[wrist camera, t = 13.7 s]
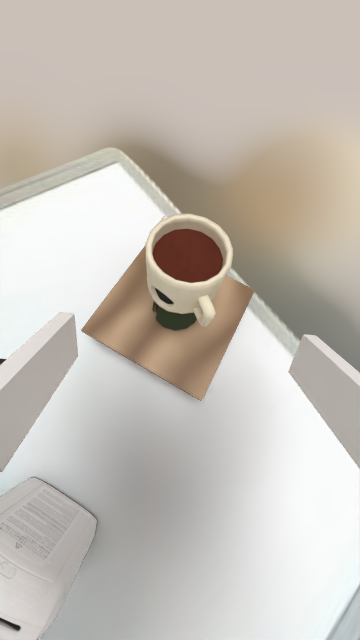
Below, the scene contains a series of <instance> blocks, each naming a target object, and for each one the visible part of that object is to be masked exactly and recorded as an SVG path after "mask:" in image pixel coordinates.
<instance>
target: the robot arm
mask: <svg viewBox="0 0 360 640" xmlns="http://www.w3.org/2000/svg"><path fill="white" fill-rule="evenodd" d="M77 357H78V349H77V338H76V327H75V316H74V314H73V313H62V312H59V313H58V314H57V315H56V316H55V317H54V318H53V319H52V320H50V321H49V322H48V323H47V324H46V325H45V326H44V327H43V328H41V329H40V330H39V331H38V332H37V333H36V334H35V335H34V336H32V337H31V338H30V339H29V340H28V341H27V342H26V343H25V344H23V345H22V346H21V347H20V348H19V349H18V350H17V351H16V352H14V353H13V354H12V355H11V356H10V357H9V358H8V359H0V472H2V471H3V470H4V468H5V467H6V465H7V464H8V462H9V461H10V459H11V458H12V456H13V455H14V453H15V451H16V450H17V448H18V447H19V445H20V444H21V442H22V441H23V439H24V438H25V436H26V435H27V433H28V432H29V430H30V429H31V427H32V425H33V424H34V422H35V421H36V419H37V418H38V416H39V415H40V413H41V412H42V410H43V409H44V407H45V406H46V404H47V403H48V401H49V400H50V398H51V396H52V395H53V393H54V392H55V390H56V389H57V387H58V386H59V384H60V383H61V381H62V380H63V378H64V377H65V375H66V374H67V372H68V371H69V369H70V367H71V366H72V364H73V363H74V361H75V360H76V358H77ZM288 372H289V373H290V375H291V376H292V377H293V379H294V380H295V382H296V383H297V384H298V386H299V387H300V388H301V390H302V391H303V392H304V394H305V395H306V396H307V398H308V399H309V401H310V402H311V403H312V405H313V406H314V407H315V409H316V410H317V411H318V413H319V414H320V415H321V417H322V418H323V420H324V421H325V422H326V424H327V425H328V426H329V428H330V429H331V430H332V432H333V433H334V435H335V436H336V437H337V439H338V440H339V441H340V443H341V444H342V445H343V447H344V448H345V449H346V451H347V452H348V454H349V455H350V456H351V458H352V459H353V460H354V462H355V463H356V464H357V466H358V467H359V468H360V373H359V372H358V371H357V370H356V369H354V368H353V367H352V366H351V365H350V364H348V363H347V362H346V361H345V360H344V359H343V358H341V357H340V356H339V355H338V354H337V353H335V352H334V351H333V350H332V349H331V348H330V347H328V346H327V345H326V344H325V343H324V342H323V341H321V340H320V339H319V338H318V337H317V336H315V335H303V337H302V339H301V342H300V344H299V347H298V349H297V352H296V354H295V357H294V359H293V362H292V364H291V366H290V369H289V371H288Z"/></svg>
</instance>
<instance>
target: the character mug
mask: <svg viewBox="0 0 360 640" xmlns="http://www.w3.org/2000/svg"><path fill="white" fill-rule="evenodd" d="M232 256H233V249H232V246H231V242H230V239H229V237H228V236H227V234H226V233H225V232H224V231H223V230H222V228H221V227H220V226H219V225H217V224H216V223H214V222H212V221H210V220H209V219H207V218H205V217H201V216H197V215H193V214H179V215H173V216H170V217H168V216H164V217H163V218H162V220H161V221H160V222H159V223H158V224H157V225H156V226H155V227H154V228H153V229H152V230H151V231H150V234H149V236H148V239H147V242H146V267H147V283H148V289H149V293H150V295H151V297H152V298H153V300H154V301H153V309H152V310H153V311H154V307H155V304H156V309H157V314H156V320H157V321H158V322H159V323H160V324H161V325H162V326H163V327H165V328H168V329H172V330H175V331H176V330H181V329H186V328H188V327H189V326H191V325H192V324H194V323H195V322H196V320H198V322H199V323H200V325H201V326H208V325H209V324H210V323H211V321H212V320H213V318H214V317H215V314H216V312H215V309H214V306H213V304H212V302H211V300H212V299H213V297H214V296H215V294H216V292H217V290H218V289H219V287H220V285H221V283H222V282H223V280H224V278H225V276H226V275H227V273H228V271H229V269H230V267H231V263H232Z"/></svg>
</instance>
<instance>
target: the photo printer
mask: <svg viewBox="0 0 360 640" xmlns="http://www.w3.org/2000/svg"><path fill="white" fill-rule="evenodd" d="M96 524H97V520H96V519H95V518H94V517H93V516H92V515H91V514H90V513H89V512H88V511H87V510H85V509H84V508H83V507H81V506H80V505H78V504H77V503H75V502H74V501H73V500H71V499H70V498H68V497H67V496H65V495H64V494H62V493H61V492H59V491H58V490H56V489H55V488H53V487H52V486H50V485H48V484H47V483H45V482H43V481H41V480H39V479H37V478H29V479H28V480H26V481H24V482H23V483H21V484H20V485H18V486H16V487H15V488H13V489H11V490H10V491H8V492H7V493H5V494H3V495H2V496H0V640H37V639H38V638H39V637H40V636H41V635H42V634H43V633H44V632H45V631H46V630H47V629H48V628H49V627H50V625H51V624H52V623H53V621H54V620H55V618H56V616H57V614H58V612H59V611H60V608H61V606H62V604H63V602H64V600H65V598H66V596H67V594H68V591H69V589H70V587H71V585H72V583H73V581H74V579H75V577H76V575H77V572H78V570H79V568H80V566H81V564H82V562H83V560H84V558H85V556H86V553H87V551H88V549H89V547H90V545H91V543H92V541H93V538H94V536H95V532H96Z"/></svg>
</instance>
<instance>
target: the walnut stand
mask: <svg viewBox="0 0 360 640" xmlns="http://www.w3.org/2000/svg"><path fill="white" fill-rule="evenodd" d="M254 291H255V290H253V289H251V288H250V287H248V286H246V285H244V284H242V283H240V282H238V281H236V280H234V279H233V278H231V277H229V276H227V275H226V276H225V278H224V280H223V282H222V283H221V285H220V287H219V289H218V290H217V292H216V294H215V296H214V297H213V299H212V300H211V302H212V304H213V306H214V309H215V312H216V314H215V317H214V318H213V320H212V321H211V323H210V324H209V325H208V326H201V325H200V323H199V322H198V320H196V322H195V323H194V324H192V325H191V326H189V327H188V328H186V329H181V330H176V331H175V330H172V329H168V328H165V327H163V326H162V325H161V324H160V323H159V322H158V321H157V320H156V314H157V309H156V304H155V307H154V311H153V310H152V309H153V301H154V300H153V298H152V297H151V295H150V293H149V289H148V283H147V267H146V245H145V247H144V248H143V249H142V251H141V252H140V253H139V255H138V256H137V257H136V259H135V260H134V261H133V263H132V264H131V265H130V267H129V268H128V269H127V270H126V272H125V273H124V274H123V276H122V277H121V278H120V280H119V281H118V282H117V284H116V285H115V286H114V288H113V289H112V290H111V291H110V293H109V294H108V295H107V297H106V298H105V299H104V301H103V302H102V303H101V305H100V306H99V307H98V309H97V310H96V311H95V313H94V314H93V315H92V316H91V318H90V319H89V320H88V322H87V323H86V324H85V326H84V327H83V328H82V330H81V331H82V332H84V333H85V334H87V335H89V336H91V337H92V338H94V339H96V340H97V341H99V342H101V343H103V344H104V345H106V346H108V347H109V348H111V349H113V350H115V351H116V352H118V353H120V354H121V355H123V356H125V357H127V358H128V359H130V360H132V361H133V362H135V363H137V364H139V365H140V366H142V367H144V368H145V369H147V370H149V371H151V372H152V373H154V374H156V375H157V376H159V377H161V378H163V379H164V380H166V381H168V382H169V383H171V384H173V385H175V386H176V387H178V388H180V389H181V390H183V391H185V392H187V393H188V394H190V395H192V396H194V397H195V398H197V399H199V400H200V401H202V399H203V397H204V395H205V393H206V391H207V389H208V387H209V385H210V383H211V381H212V378H213V376H214V374H215V372H216V370H217V368H218V366H219V364H220V362H221V360H222V358H223V356H224V353H225V351H226V349H227V347H228V345H229V343H230V341H231V339H232V337H233V335H234V333H235V331H236V328H237V326H238V324H239V322H240V320H241V318H242V316H243V314H244V312H245V310H246V308H247V306H248V304H249V301H250V299H251V297H252V295H253V293H254Z"/></svg>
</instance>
